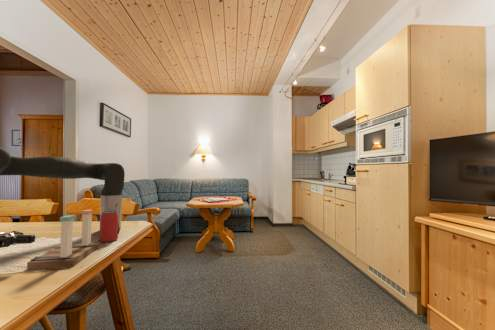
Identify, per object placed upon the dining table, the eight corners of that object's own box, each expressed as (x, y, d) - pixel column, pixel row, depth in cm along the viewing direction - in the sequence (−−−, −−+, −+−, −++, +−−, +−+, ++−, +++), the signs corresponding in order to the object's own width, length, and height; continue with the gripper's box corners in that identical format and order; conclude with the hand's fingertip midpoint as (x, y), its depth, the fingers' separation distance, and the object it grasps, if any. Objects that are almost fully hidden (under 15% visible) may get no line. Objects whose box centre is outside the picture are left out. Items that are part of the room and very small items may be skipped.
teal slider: (65, 254, 76) (66, 215, 76) (73, 253, 76) (74, 215, 77) (58, 258, 72) (59, 217, 73) (67, 257, 73) (68, 217, 73)
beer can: (109, 243, 97) (110, 213, 97) (95, 241, 98) (96, 212, 99) (121, 238, 103) (121, 210, 104) (108, 237, 105) (108, 210, 105)
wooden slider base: (61, 250, 88) (61, 243, 88) (97, 248, 90) (98, 241, 90) (27, 269, 70) (27, 261, 70) (73, 266, 72) (73, 258, 72)
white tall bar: (85, 243, 88) (86, 209, 88) (92, 242, 88) (93, 209, 89) (80, 246, 84) (81, 211, 85) (87, 245, 85) (88, 211, 85)
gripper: (-60, 233, 63) (18, 231, 66) (-16, 223, 76) (47, 222, 79) (-62, 262, 62) (16, 259, 66) (-17, 247, 75) (46, 245, 79)
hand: (33, 238), depth 72 cm, fingers closed
